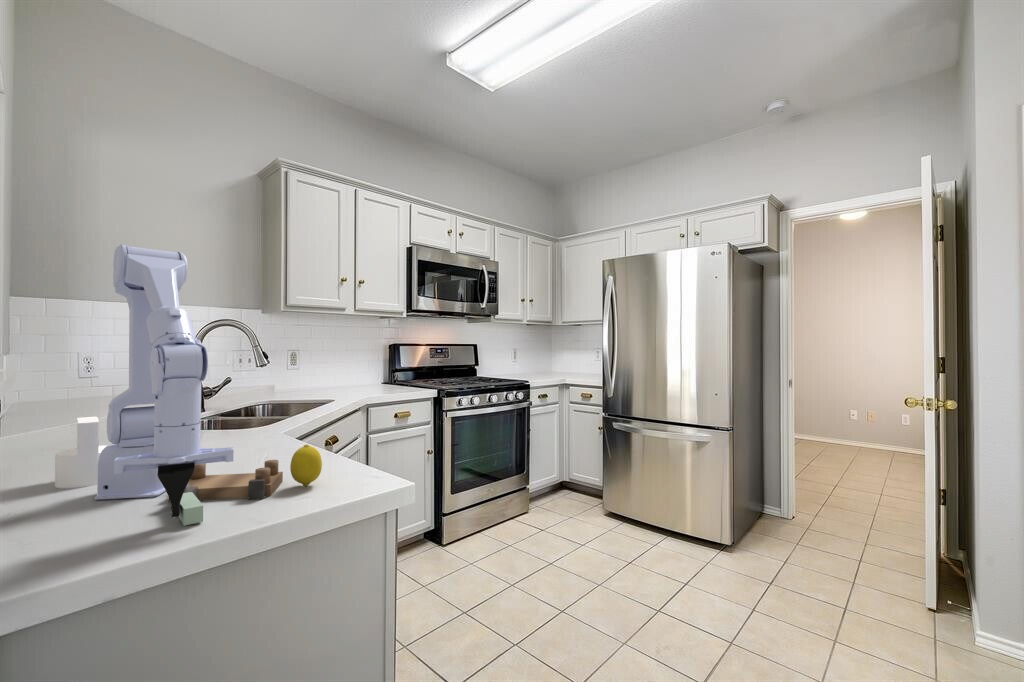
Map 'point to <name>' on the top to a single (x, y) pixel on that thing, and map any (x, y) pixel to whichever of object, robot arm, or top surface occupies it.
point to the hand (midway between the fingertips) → (176, 514)
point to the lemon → (306, 465)
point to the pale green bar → (190, 509)
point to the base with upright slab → (80, 457)
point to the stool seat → (235, 483)
